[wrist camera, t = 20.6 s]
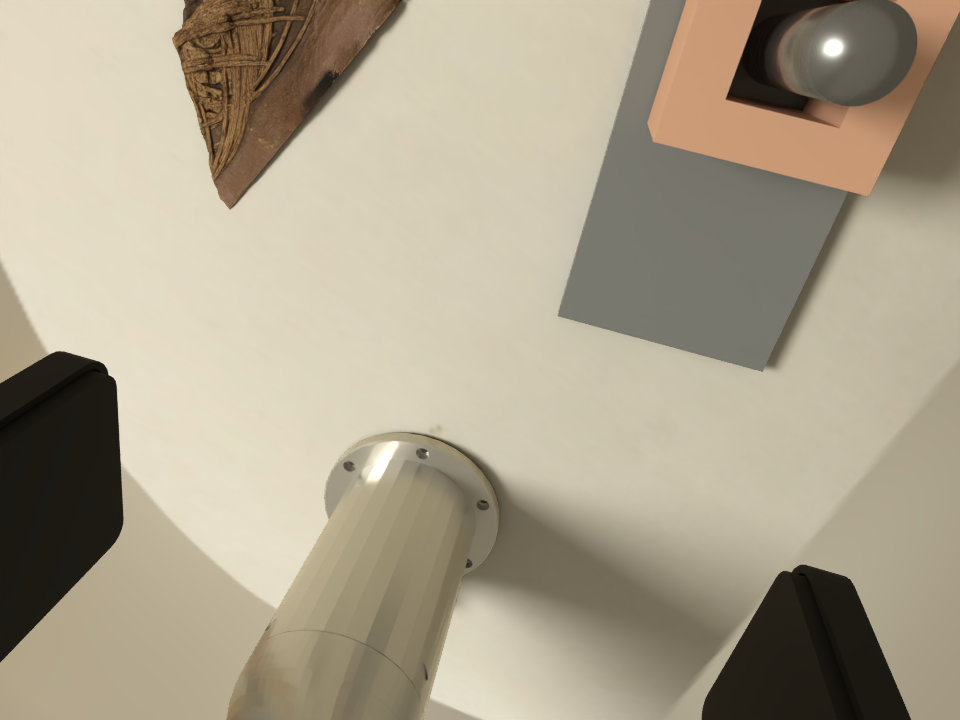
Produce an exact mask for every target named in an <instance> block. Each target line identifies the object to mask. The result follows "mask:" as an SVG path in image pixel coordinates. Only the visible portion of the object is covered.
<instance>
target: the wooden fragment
mask: <svg viewBox="0 0 960 720" xmlns="http://www.w3.org/2000/svg"><path fill="white" fill-rule="evenodd" d="M184 1H185V4H186V5H185V8H184V10H183V25H182V29H181V30H179V31H178V32H176V33H175V35H174V37H173V38H172V40H173V43H174V45H175V48H176V50H177V52H178V54H179V57H180V60H181V65H182V70H183V72H184V75H185V80H186V86H187V89H188V92H189V94H190V97H191V99H192V101H193V102H194V106H195V109H196V112H197V117H198V122H199V126H200V129H201V133H202V135H203V138H204V139H205V141H206V145H207V149H208V152H209V166H210V169H211V173H212V179H213V182H214V184H215V186H216V188H217V190H218V194H219V197H220V199H221V200H222V201H224V203H225V204H226V205H227V207H228V208H229V209H230V208H231V207H232V206H233V204H234V203H235V202H236V201H237V200H238V198H239V197H240V196H241V195H242V194H243V192H244V191H245V190H246V189H247V187H248V186H249V185H250V184H251V183H252V181H253V180H254V179H255V178H256V176H257V175H258V174H259V173H260V172H261V170H262V169H263V168H264V167H265V166H266V164H267V163H268V161H269V160H270V159H271V158H272V157H273V156H274V155H275V153H276V152H277V151H278V149H279V148H280V147H281V146H282V145H283V144H284V143H285V141H286V140H287V139H288V138H289V136H290V135H291V134H292V133H293V131H294V130H295V129H296V128H297V126H298V125H299V124H300V123H301V122H302V120H303V119H304V118H305V117H306V116H307V114H308V113H309V112H310V110H312V108H313V107H314V105H315V104H316V103H317V102H318V100H319V98H320V97H321V96H322V95H323V94H324V93H325V92H326V91H327V89H328V88H329V87H330V86H331V85H332V84H333V82H334V81H335V80H336V79H337V77H339V76H340V74H341V73H342V72H343V71H344V69H345V68H346V67H347V66H348V65H349V63H350V62H351V61H352V60H353V59H354V57H355V56H356V55H357V54H358V52H359V51H360V50H361V49H362V48H363V47H364V45H365V44H366V42H367V40H368V39H369V38H370V37H371V36H372V33H375V28H376V29H378V28H379V27H380V26H381V25H382V24H383V22H384V21H385V20H386V19H387V17H388V16H389V15H390V14H391V12H392V11H393V10H394V9H395V8H396V7H397V6H398V4H399V3H400V1H401V0H398V1H397V0H184Z"/></svg>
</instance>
